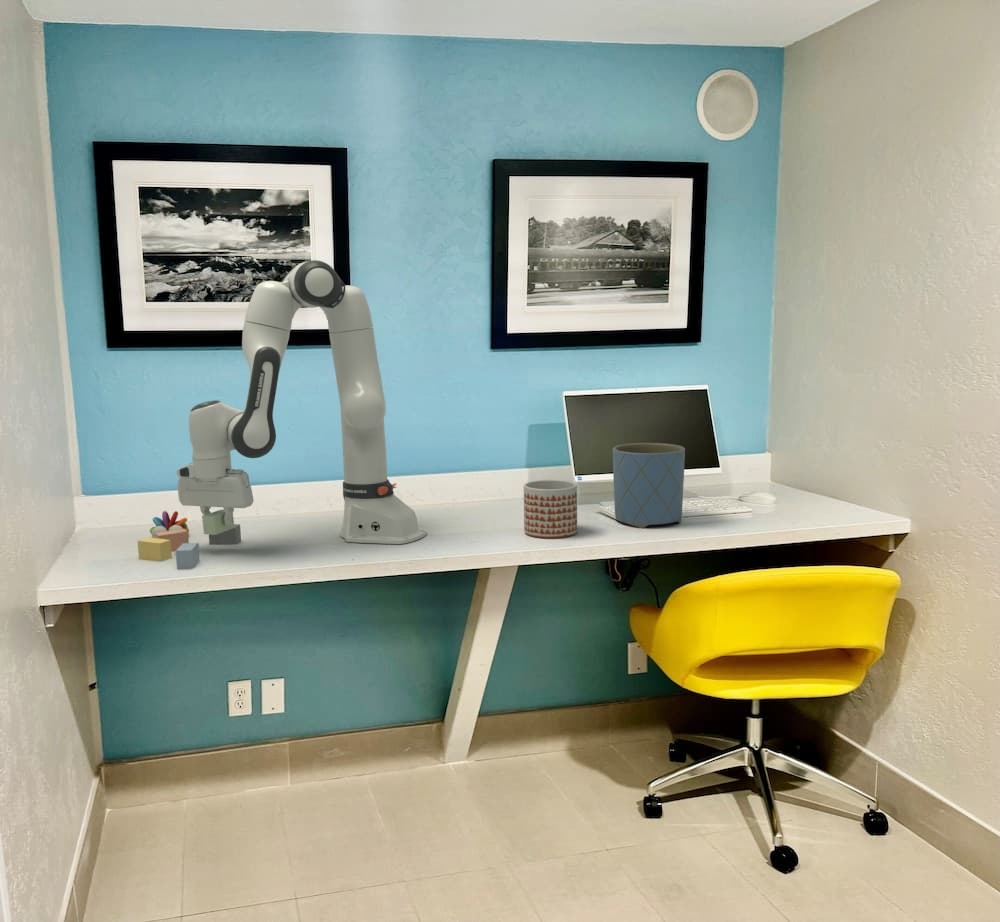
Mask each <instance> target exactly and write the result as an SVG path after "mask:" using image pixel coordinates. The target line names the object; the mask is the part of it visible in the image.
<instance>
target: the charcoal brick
mask: <svg viewBox="0 0 1000 922" xmlns="http://www.w3.org/2000/svg"><path fill="white" fill-rule="evenodd" d="M241 534H242V533H241V524H239V523H238V524H237V523H236V524H235V523H234V528H233V529H230V530H227V531H225V532H222V533H219V534H216V535H210V534H208V541H209V545H238V544H239V543H241V542H242V535H241Z"/></svg>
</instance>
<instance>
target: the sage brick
mask: <svg viewBox="0 0 1000 922" xmlns="http://www.w3.org/2000/svg"><path fill="white" fill-rule="evenodd" d="M225 513H226V512H224V509H219V510H216V511H213V512H211V513H209V514H206V515H203V514H202V516H201V519H202V528H203V534H204V535H209V534H210V535H216V534H219V533H222V532H225V531H227V530H230V529H233V528H234V524H235V521H234V519H235V518H234V513H233V514H232V516H231V524H230V525H222V520H221V518H224V516H225Z"/></svg>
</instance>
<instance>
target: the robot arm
mask: <svg viewBox="0 0 1000 922" xmlns="http://www.w3.org/2000/svg"><path fill="white" fill-rule="evenodd" d="M307 308H312V309H313V308H320V309H321V310H322V311H323V313H324V315H325V318H326V320H327V326H328V332H329V334H328V335H329V341H330V347H331V354H332V360H333V365H334V371H335V372H334V373H335V378H336V386H337V391H338V392H337V393H338V399H339V404H340V405H339V406H340V419H341V420H340V422H341V423H340V425H341V441H342V463H343V480H344V481H342V496H343V500H344V505H343V507H344V509H343V519H342V526H341V531H340V534H339V536H340V537H342V538H343V539H345V540H344V542H347V543H358V544H359V543H362V544H364V543H365V544H385V545H403V544H408V543H412V542H414V541H415V542H416V541H418V540H419V539H422V538H423V537H425V536H426V535H427V533H428V532H427V529H426V528H422V527H419V524H418V519H417V515H416V513H415V510H413V508H411V507H410V506H409V505H408V504H406V503H405V502H404V501H403V500H401V499H400V498H399V497H398V496H396V495H395V492H394V489H396V488H397V483H391V481H390V480H389V479H388V471H387V470H388V466H387V465H388V463H387V445H386V433H385V431H386V430H385V416H386V411H387V406H386V400H385V399H386V398H385V394H384V387H383V381H382V376H381V371H380V366H379V359H378V354H377V352H378V351H377V344H376V340H375V339H376V338H375V332H374V328H373V327H374V326H373V319H372V315H371V310H370V307H369V304H368V300H367V298H366V294H365V293H364V292H363V290H362V289H361V288H359V287H357V286H355V285H346V284H345V283H344V281H343V280H342V279H341V278H340V276H339V275H338V273H337V272H336V271H335V269H334V268H333V267H332V266H331V265H329V264H328V263H326V262H324V261H322V260H315V259H314V260H313V259H312V260H308V261H303V262H301V263H299V264H297V265H296V266H295V267H293V268H291V270H289V271H288V272H287V273H286V275H285V276H283V278H282V279H281V280H280V281H276V280H267V281H262V282H260V283H259V284H257V285H256V287H254V291H253V293H252V294H251V297H250V300H249V304H248V307H247V310H246V314H245V317H244V321H243V326H242V327H243V328H242V335H241V336H242V337H241V338H242V339H241V349H242V351H243V354H244V356H245V359H246V362H247V363H248V367H249V384H248V389H247V390H248V391H247V395H246V396H247V397H246V402H245V407H244V408H245V409H244V410H242V409H239V408H235V407H233V406H230V405H228V404H226V403H224V402H222V401H221V400H217V399H215V400H209V401H205V402H201V403H199V404H196V405H195V406H193V407H192V409H190V412H189V415H188V430H189V431H188V432H189V441H190V443H191V446H192V455H191V461H192V462H191V463H189V464H186V465H185V466H181V467H179V468H177V469H176V475H177V477H178V478H179V479H178V480H177V493H178V494H177V495H178V501H179V503H180V504H181V505H182V506H186V507H187V506H189V507H199V510H200V512H201V514H202V516H203V515H206V514H209V513H212V512H211V510H210V509H211V508H223V510H224V512H226V513H225V516H224V518H221V520H222V525H230V524H231V516H232V514H233V515H234V511H235V509H246V508H249V507H251V506H252V505H253V503H254V495H253V490H252V485H251V481H250V476H249V474H248V473H247V472H246V471H244V469H239V468H238V469H234V468H232V459H231V451H236V452H237V453H238V454H240V455H241V456H243V457H246V458H248V459H258V458H262V457H264V456H266V455H267V454H269V453H270V452H271V451H272V449H273V448H274V446H275V443H276V440H277V433H276V427H275V424H274V423H275V422H274V418H273V415H274V406H275V400H276V394H277V388H278V382H279V374H280V370H281V367H282V364H283V363H282V362H283V359H284V356H285V353H286V349H287V346H288V342H289V340H290V334H291V333H290V332H291V328H292V323H293V319H294V317H295V314H296V312H297V311H298V310H299V309H307Z"/></svg>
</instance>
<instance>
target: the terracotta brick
mask: <svg viewBox="0 0 1000 922" xmlns="http://www.w3.org/2000/svg"><path fill="white" fill-rule="evenodd" d="M155 536H156V538H157V539H167V540H171V552H174V551H175V552H176V550H177V549H178V548H179V547H180V546H181V545H182V544H183V543H190V542H189V541H190V540H189V533H188V531H186V530H185V529H180V530H173V531H166V532H159V533H155Z"/></svg>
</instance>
